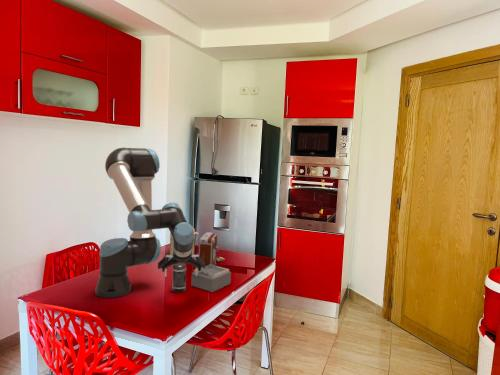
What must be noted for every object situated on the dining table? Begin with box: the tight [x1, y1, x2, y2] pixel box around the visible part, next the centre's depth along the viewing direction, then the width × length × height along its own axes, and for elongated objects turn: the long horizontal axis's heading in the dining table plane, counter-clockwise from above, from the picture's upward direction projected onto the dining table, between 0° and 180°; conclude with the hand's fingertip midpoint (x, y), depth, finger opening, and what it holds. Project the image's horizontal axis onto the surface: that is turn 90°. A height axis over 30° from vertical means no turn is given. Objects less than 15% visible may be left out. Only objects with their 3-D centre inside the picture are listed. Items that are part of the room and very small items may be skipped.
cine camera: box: [198, 231, 219, 266], centre depth 203 cm, size 9×19×20 cm, turn 174°
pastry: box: [216, 256, 225, 262], centre depth 221 cm, size 7×12×4 cm, turn 140°
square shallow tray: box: [190, 268, 232, 293], centre depth 182 cm, size 14×13×6 cm
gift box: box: [169, 226, 200, 255], centre depth 228 cm, size 17×18×17 cm
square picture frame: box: [193, 264, 230, 279], centre depth 181 cm, size 12×12×2 cm
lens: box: [171, 263, 187, 294], centre depth 173 cm, size 6×6×12 cm
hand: (181, 273), depth 169 cm, fingers open, 13 cm apart
